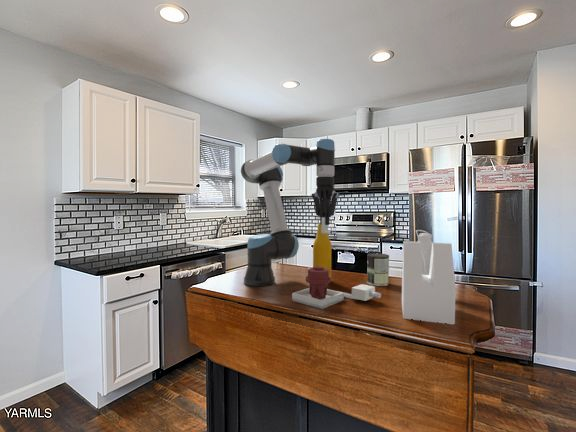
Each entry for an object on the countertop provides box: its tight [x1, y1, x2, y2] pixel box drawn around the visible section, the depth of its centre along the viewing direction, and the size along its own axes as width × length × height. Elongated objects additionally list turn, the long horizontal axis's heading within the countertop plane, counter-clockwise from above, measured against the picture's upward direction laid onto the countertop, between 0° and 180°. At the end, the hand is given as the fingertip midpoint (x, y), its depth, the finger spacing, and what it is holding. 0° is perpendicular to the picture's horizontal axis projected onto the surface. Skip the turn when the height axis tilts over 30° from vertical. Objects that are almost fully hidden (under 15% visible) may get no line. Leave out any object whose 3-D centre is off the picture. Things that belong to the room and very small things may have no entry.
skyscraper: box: [415, 229, 433, 275], centre depth 132 cm, size 8×8×28 cm
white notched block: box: [401, 240, 457, 325], centre depth 108 cm, size 19×15×25 cm
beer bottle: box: [312, 223, 333, 279], centre depth 152 cm, size 9×9×29 cm
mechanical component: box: [305, 266, 332, 299], centre depth 121 cm, size 12×10×10 cm
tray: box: [291, 287, 345, 310], centre depth 121 cm, size 15×15×3 cm
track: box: [337, 290, 359, 301], centre depth 127 cm, size 11×3×1 cm, turn 48°
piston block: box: [351, 283, 382, 302], centre depth 120 cm, size 10×8×4 cm
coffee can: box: [366, 252, 390, 287], centre depth 149 cm, size 10×10×14 cm
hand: (324, 232), depth 129 cm, fingers closed
